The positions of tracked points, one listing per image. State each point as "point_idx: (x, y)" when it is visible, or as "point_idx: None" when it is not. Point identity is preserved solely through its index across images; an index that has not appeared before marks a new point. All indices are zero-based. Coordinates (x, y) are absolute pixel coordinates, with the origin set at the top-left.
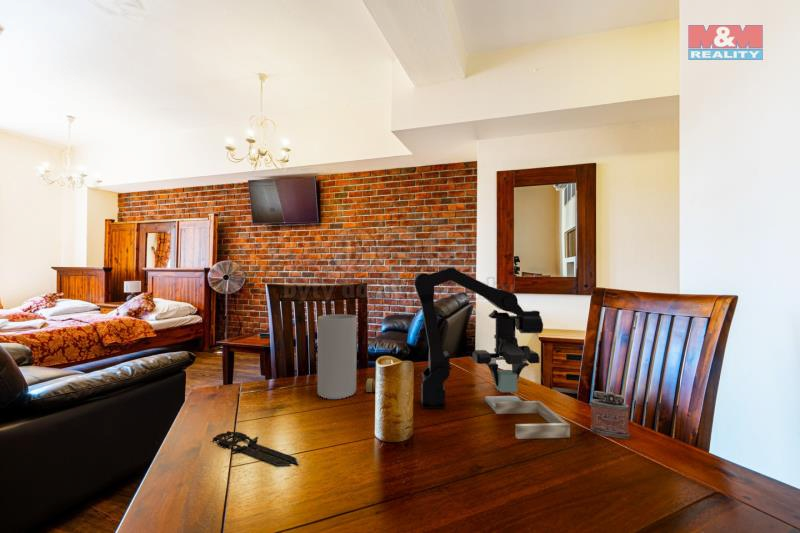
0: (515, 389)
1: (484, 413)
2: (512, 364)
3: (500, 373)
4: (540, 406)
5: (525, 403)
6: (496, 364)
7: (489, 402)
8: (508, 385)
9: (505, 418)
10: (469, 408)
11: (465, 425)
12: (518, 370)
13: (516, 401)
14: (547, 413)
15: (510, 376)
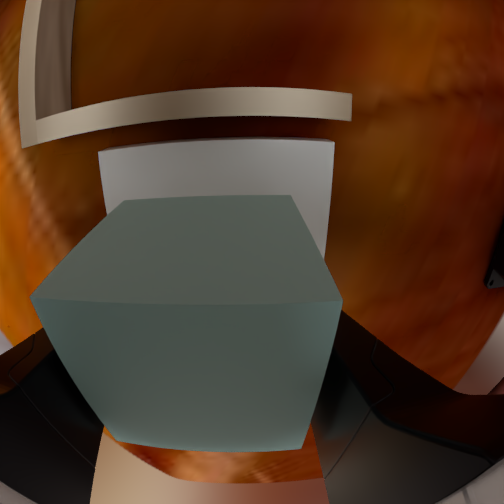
0: (132, 207)
1: (391, 116)
2: (86, 482)
3: (301, 365)
4: (43, 88)
5: (114, 101)
6: (491, 469)
7: (325, 227)
8: (200, 220)
9: (295, 34)
10: (434, 191)
11: (486, 35)
12: (9, 374)
13: (171, 115)
14: (51, 11)
15: (142, 284)
